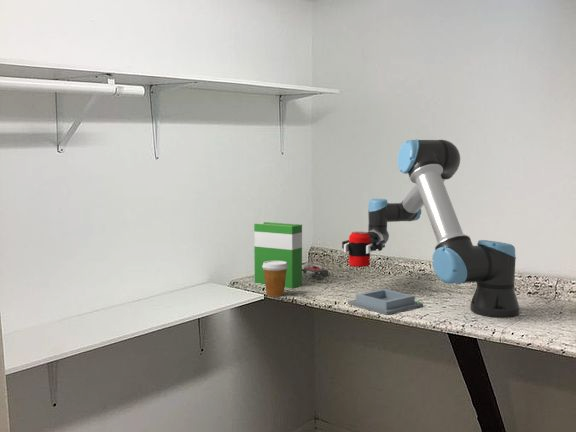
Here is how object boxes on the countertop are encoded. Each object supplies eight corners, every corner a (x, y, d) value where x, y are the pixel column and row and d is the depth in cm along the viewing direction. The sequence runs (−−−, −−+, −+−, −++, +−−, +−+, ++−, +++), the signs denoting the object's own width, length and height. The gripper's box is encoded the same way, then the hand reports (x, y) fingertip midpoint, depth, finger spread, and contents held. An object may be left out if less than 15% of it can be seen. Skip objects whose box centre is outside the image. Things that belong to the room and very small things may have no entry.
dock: (422, 306, 207) (423, 296, 206) (386, 315, 196) (386, 304, 195) (383, 296, 221) (383, 287, 221) (347, 304, 210) (347, 294, 210)
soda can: (345, 265, 221) (345, 233, 220) (353, 262, 227) (353, 230, 226) (365, 267, 217) (365, 234, 216) (372, 264, 224) (373, 231, 223)
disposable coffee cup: (277, 290, 231) (277, 259, 230) (293, 295, 223) (293, 263, 222) (257, 294, 225) (256, 262, 224) (272, 299, 218) (272, 265, 216)
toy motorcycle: (297, 273, 266) (319, 282, 248) (297, 263, 265) (320, 271, 248) (314, 271, 270) (338, 280, 252) (314, 262, 269) (338, 269, 252)
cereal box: (254, 283, 244) (254, 223, 242) (265, 280, 250) (264, 222, 248) (292, 288, 235) (292, 226, 232) (301, 284, 241) (302, 224, 239)
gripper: (397, 251, 235) (383, 261, 214) (346, 248, 242) (328, 257, 221) (397, 232, 234) (384, 240, 213) (346, 230, 242) (328, 237, 221)
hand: (355, 249), depth 217 cm, fingers closed on soda can, 7 cm apart
